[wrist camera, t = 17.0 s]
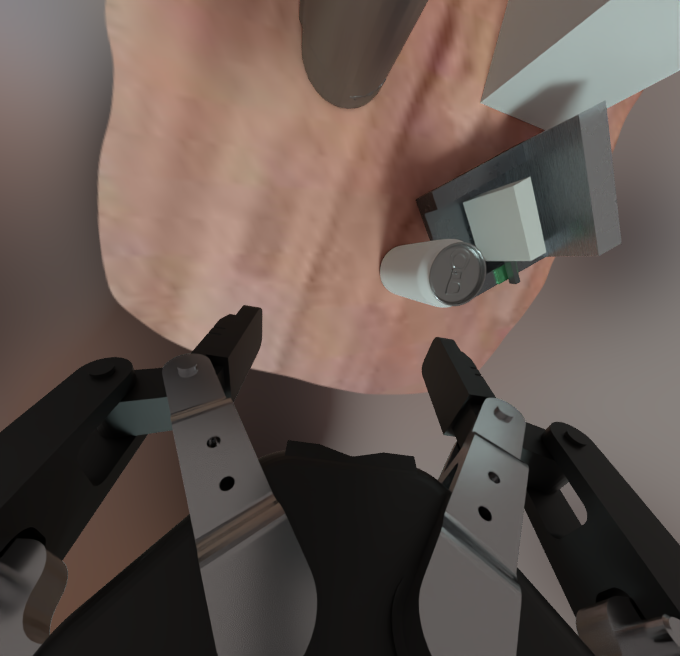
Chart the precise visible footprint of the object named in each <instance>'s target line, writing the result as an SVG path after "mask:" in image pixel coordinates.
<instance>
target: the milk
mask: <svg viewBox="0 0 680 656" xmlns="http://www.w3.org/2000/svg"><path fill="white" fill-rule="evenodd" d="M679 70H680V0H508V3H507V7H506V11H505V14H504V18H503V21H502V25H501V29H500V32H499V36H498V40H497V43H496V47H495V51H494V54H493V58H492V62H491V65H490V69H489V73H488V76H487V80H486V84H485V87H484V91H483V95H482V98H481V102H480V103H482V104H484V105H486V106H489V107H491V108H494V109H496V110H498V111H501V112H503V113H505V114H508V115H510V116H513V117H515V118H517V119H520V120H522V121H524V122H527V123H529V124H532V125H534V126H536V127H539V128H541V129H543V130H547V129H549V128H551V127H553V126H555V125H557V124H559V123H561V122H563V121H565V120H567V119H569V118H571V117H573V116H575V115H577V114H579V113H581V112H583V111H585V110H587V109H589V108H591V107H593V106H595V105H597V104H599V103H601V102H603V101H605V100H606V108H609V107H611V106H612V105H614V104H616V103H618V102H620V101H622V100H624V99H626V98H628V97H630V96H632V95H634V94H635V93H637V92H639V91H641V90H643V89H645V88H647V87H649V86H651V85H653V84H654V83H656V82H658V81H660V80H662V79H664V78H666V77H668V76H670V75H672V74H674V73H675V72H677V71H679Z"/></svg>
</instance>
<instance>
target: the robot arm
mask: <svg viewBox="0 0 680 656" xmlns="http://www.w3.org/2000/svg"><path fill="white" fill-rule="evenodd" d="M427 2H428V0H300V8H299V20H300V22H301V24H302V28H303V33H302V58H303V63H304V67H305V71H306V73H307V75H308V78H309V80H310V82H311V83H312V85H313V87H314V88H315V90H316V91H317V92H318V93H319V94H320V95H321V96H322V97H323V98H324V99H325V100H327V101H328V102H329V103H331V104H333V105H335V106H338V107H341V108H346V109H351V108H358V107H361V106H363V105H365V104H367V103H368V102H370V101H371V100H372V99H373V98H374V97H375V96H376V95H377V94H378V92H379V90H380V88H381V87H382V85H383V83H384V82H385V80H386V77H387V76H388V74H389V72H390V70H391V68H392V66H393V65H394V63H395V61H396V59H397V57H398V56H399V54H400V52H401V50H402V48H403V46H404V44H405V43H406V41H407V39H408V37H409V35H410V33H411V31H412V30H413V28H414V26H415V24H416V22H417V20H418V18H419V17H420V15H421V13H422V11H423V9H424V7H425V5H426V3H427ZM261 341H262V309H261V308H258V307H252V306H246V305H244V306H243V307H242V308H241V309H240V310H239V312H238V313H237V314H236V315H232V314H229V315H227V316H225V317H223V318H221V319H220V320H219V321H218V322H217V323H216V324H215V326H214V328H212V329H211V330H210V331H209V334H207V335H206V336H205V337H204V339H203V340H202V341H201V342H200V343H199V344H198V346H197V347H196V348H195V349H194V350H193V351H192V353H191V354H184V355H180V356H177V357H175V358H173V359H171V360H170V361H169V362H167V363H166V364H165V365H164V367H163V368H155V369H142V370H134V368H133V365H132V363H131V362H130V361H129V360H127V359H124V358H117V357H111V358H104V359H99V360H96V361H93V362H90V363H88V364H86V365H84V366H82V367H81V368H79V369H78V370H76V371H75V372H74V373H73V374H72V375H70V376H69V377H68V378H67V379H65V380H64V381H63V382H62V383H61V384H59V385H58V386H57V387H56V388H54V389H53V390H52V391H51V392H49V393H48V394H47V395H46V396H44V397H43V398H42V399H41V400H40V401H38V402H37V403H36V404H35V405H33V406H32V407H31V408H30V409H28V410H27V411H26V412H25V413H23V414H22V415H21V416H20V417H18V418H17V419H16V420H15V421H14V422H12V423H11V424H10V425H9V426H8V427H6V428H5V429H4V430H3V431H1V432H0V656H680V545H679V544H678V543H677V541H675V539H674V538H673V537H672V535H671V534H670V533H669V532H668V531H667V530H666V528H665V527H664V526H663V525H662V524H661V522H660V521H659V520H658V519H657V518H656V516H655V515H654V514H653V513H652V512H651V511H650V509H649V508H648V507H647V506H646V505H645V503H644V502H643V501H642V500H641V499H640V497H639V496H638V495H637V494H636V493H635V491H634V490H633V489H632V488H631V487H630V485H629V484H628V483H627V482H626V481H625V480H624V478H623V477H622V476H621V475H620V474H619V472H618V471H617V470H616V469H615V468H614V467H613V465H612V464H611V463H610V462H609V460H608V459H607V458H606V457H605V456H604V454H603V453H602V452H601V451H600V450H599V449H598V448H597V446H596V445H595V444H594V443H593V442H592V440H591V439H589V438H588V437H587V436H586V435H585V434H583V433H582V432H581V431H579V430H578V429H576V428H574V427H572V426H570V425H568V424H565V423H562V422H554V423H552V424H551V425H550V426H549V427H548V428H547V429H546V430H545V429H542V428H540V427H537V426H535V425H532V424H529V423H527V422H525V419H524V417H523V416H522V414H521V413H520V412H519V411H518V410H517V409H516V408H515V407H513V406H512V405H511V404H509V403H507V402H505V401H503V400H500V399H498V398H496V397H495V395H494V394H493V392H492V391H491V389H490V388H489V386H488V385H487V383H486V381H485V380H484V378H483V377H482V376H481V374H480V372H479V371H478V370H477V367H476V366H475V364H474V363H473V361H472V360H471V359H470V358H469V357H468V356H467V355H466V354H464V353H463V352H461V351H460V349H459V348H458V346H457V344H456V343H455V341H454V340H452V339H446V338H440V337H436V338H435V339H434V340H433V342H432V344H431V346H430V348H429V351H428V353H427V355H426V357H425V359H424V362H423V365H422V376H423V379H424V381H425V384H426V387H427V390H428V393H429V395H430V398H431V401H432V404H433V407H434V409H435V412H436V415H437V418H438V420H439V423H440V426H441V429H442V432H443V434H444V435H447V436H455V437H456V439H457V442H456V443H455V444H454V446H453V448H452V450H451V452H450V455H449V457H448V459H447V461H446V463H445V466H444V468H443V470H442V472H441V474H440V477H439V479H438V480H437V479H435V478H434V477H432V476H431V475H429V474H428V473H426V472H424V471H422V470H420V469H418V468H416V464H415V459H414V457H413V456H405V455H398V454H390V453H378V454H370V455H362V456H355V457H352V456H349V455H346V454H343V453H340V452H338V451H336V450H333V449H330V448H328V447H325V446H323V445H320V444H313V443H306V442H298V441H289V440H288V442H287V447H286V450H285V451H279V452H275V453H271V454H268V455H266V456H263V457H261V458H259V459H257V456H256V454H255V452H254V449H253V447H252V445H251V443H250V440H249V438H248V436H247V433H246V431H245V429H244V427H243V424H242V422H241V420H240V417H239V415H238V413H237V410H236V408H235V406H234V404H233V402H234V400H235V398H236V396H237V394H238V392H239V390H240V388H241V386H242V384H243V382H244V380H245V378H246V376H247V374H248V372H249V370H250V368H251V366H252V364H253V362H254V360H255V358H256V355H257V353H258V351H259V349H260V346H261ZM170 430H173V433H174V438H175V443H176V448H177V453H178V458H179V463H180V468H181V472H182V478H183V483H184V488H185V492H186V497H187V502H188V507H189V512H190V514H189V515H188V516H187V517H186V518H184V519H183V520H182V521H181V522H180V523H179V524H178V525H176V526H175V527H174V528H172V530H170V531H169V532H168V533H167V534H165V535H164V536H163V537H162V538H161V539H159V540H158V541H157V542H156V543H155V544H154V545H152V546H151V547H150V548H149V549H148V550H146V551H145V552H144V553H143V554H142V555H141V556H139V557H138V558H137V559H136V560H135V561H133V562H132V563H131V564H130V565H129V566H127V567H126V568H125V569H124V570H123V571H122V572H120V573H119V574H118V575H117V576H116V577H114V578H113V579H112V580H111V581H110V582H109V583H107V584H106V585H105V586H104V587H103V588H101V589H100V590H99V591H98V592H97V593H96V594H94V595H93V596H92V597H91V598H90V599H88V600H87V601H86V602H85V603H84V604H82V605H81V606H80V607H79V608H78V609H77V610H75V611H74V612H73V613H72V614H71V615H70V616H68V617H67V618H66V619H65V620H64V621H63V622H62V623H61V624H60V625H59V626H58V627H57V628H56V629H55V630H54V631H53V632H52V634H51V635H50V624H51V620H52V616H53V613H54V611H55V608H56V606H57V604H58V602H59V600H60V598H61V596H62V594H63V592H64V590H65V587H66V584H67V579H68V571H67V567H66V565H65V563H64V562H63V561H62V560H63V559H64V557H65V556H66V554H67V553H68V551H69V550H70V548H71V547H72V546H73V544H74V543H75V541H76V540H77V538H78V537H79V535H80V534H81V532H82V531H83V529H84V528H85V526H86V525H87V523H88V522H89V520H90V519H91V517H92V516H93V515H94V513H95V512H96V510H97V509H98V507H99V506H100V504H101V502H102V501H103V500H104V498H105V497H106V495H107V494H108V492H109V491H110V489H111V488H112V486H113V485H114V483H115V482H116V480H117V479H118V478H119V476H120V474H121V473H122V471H123V470H124V469H125V467H126V466H127V464H128V463H129V461H130V460H131V458H132V457H133V455H134V454H135V452H136V451H137V449H138V448H139V447H140V445H141V444H142V442H143V441H144V439H145V438H146V436H147V435H148V434H150V433H157V432H163V431H170ZM568 482H570V484H571V486H572V487H573V489H574V490H575V492H576V493H577V495H578V496H579V498H580V500H581V501H582V502H583V504H584V506H585V508H586V511H587V521H586V523H585V524H584V525H581V524H580V522H579V520H578V519H577V517H576V515H575V514H574V512H573V510H572V509H571V507H570V506H569V504H568V502H567V501H566V499H565V497H564V496H563V494H562V492H561V491H560V489H561V487H563V486H564V485H566V484H567V483H568ZM524 509H525V511H526V513H527V515H528V517H529V519H530V521H531V523H532V526H533V528H534V530H535V532H536V534H537V536H538V538H539V540H540V543H541V545H542V547H543V549H544V551H545V553H546V555H547V557H548V560H549V562H550V564H551V566H552V568H553V570H554V572H555V575H556V577H557V579H558V581H559V583H560V585H561V587H562V589H563V591H564V594H565V596H566V598H567V600H568V602H569V604H570V606H571V609H572V611H573V613H574V615H575V617H576V628H577V632H578V635H577V634H576V633H575V632H574V631H573V629H572V628H571V627H570V626H569V625H568V624H567V623H566V622H565V621H564V619H563V618H562V617H561V616H560V615H559V614H558V613H557V612H556V610H555V609H554V608H553V607H552V606H551V605H550V604H549V603H548V601H547V600H546V599H545V598H544V597H543V596H542V595H541V593H540V592H539V591H538V590H537V589H536V588H535V587H534V586H533V584H532V583H531V582H530V581H529V580H528V579H527V578H526V577H525V576H524V574H523V573H522V572H521V571H520V570H519V569H518V568H517V562H518V554H519V546H520V537H521V529H522V521H523V513H524Z"/></svg>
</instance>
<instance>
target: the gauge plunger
mask: <svg viewBox="0 0 680 656" xmlns="http://www.w3.org/2000/svg"><path fill="white" fill-rule="evenodd" d="M463 205H464V208H465V212H466V215H467V218H468V222H469V225H470V228H471V232H472V235H473V238H474V242H475V245H476V247H477V248H478V249H479V250H480V251H481V253H482V255H483V257H484V259H485V261H504V264H505V268H506V272H507V275H508V279H509V283H511V284H517V283H519V282H520V279H519V275H518V271H517V267H516V263H515V261H532V260H534V259H536V258H537V257H539V256H541V255H543V254H544V253H546V248H545V243H544V239H543V234H542V229H541V224H540V220H539V215H538V210H537V205H536V201H535V196H534V191H533V186H532V182H531V177H528V178H525V179H522V180H519V181H516V182H513V183H510V184H507V185H505V186H502V187H499V188H496V189H493V190H490V191H487V192H484V193H481V194H479V195H476V196H474V197H472V198H470V199H469V200H467V201H465V202H463Z"/></svg>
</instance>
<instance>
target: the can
mask: <svg viewBox="0 0 680 656" xmlns="http://www.w3.org/2000/svg"><path fill="white" fill-rule="evenodd" d="M380 277H381V281H382V283H383V285H384V286H385V288H386V289H387V290H389V291H390V292H392V293H394V294H396V295H399V296H402V297H406V298H409V299H412V300H415V301H419V302H422V303H425V304H429V305H432V306H436V307H451V306H459V305H463V304H465V303H467V302H469V301H470V300H472V299H473V298H474V297H475V296H476V295H477V294H478V293H479V291H480V290H481V288H482V286H483V284H484V281H485V277H486V263H485V259H484V257H483V255H482V253H481V251H480V250H479V249H478V248H477V247H476V246H474V245H472V244H470V243H466V242H463V241H461V240H457V239H442V240H434V241H427V242H420V243H414V244H407V245H401V246H397V247H395V248H393V249H391V250H390V251H389V252H388V253H387V254H386V255H385V257H384V258H383V260H382V263H381V267H380Z"/></svg>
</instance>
